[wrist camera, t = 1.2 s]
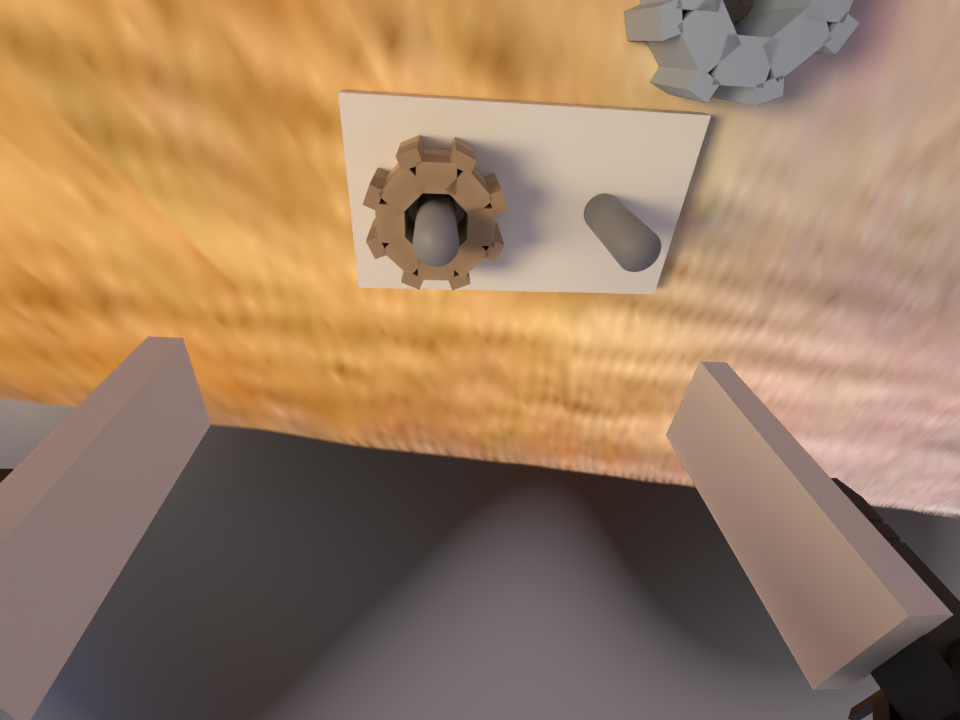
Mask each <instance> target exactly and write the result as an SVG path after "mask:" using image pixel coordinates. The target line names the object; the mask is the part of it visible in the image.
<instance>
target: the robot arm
mask: <svg viewBox="0 0 960 720" xmlns="http://www.w3.org/2000/svg"><path fill="white" fill-rule="evenodd" d="M210 424H211V423H210V420H209V417H208V413H207V410H206V407H205V404H204V401H203V398H202V395H201V392H200V389H199V386H198V383H197V380H196V377H195V373H194V370H193V367H192V364H191V361H190V358H189V355H188V352H187V349H186V346H185V343H184V340H183V338H170V337H147V338H146V339H145V340H144V341H143V342H142V343H141V344H140V345H139V346H138V347H137V348H136V349H135V350H134V351H133V352H132V353H131V354H130V355H129V356H128V357H127V358H126V359H125V360H124V361H123V362H122V363H121V364H120V365H119V366H118V367H117V368H116V369H115V370H114V371H113V372H112V373H111V374H110V375H109V376H108V377H107V378H106V379H105V380H104V381H103V382H102V383H101V384H100V385H99V386H98V387H97V388H96V389H95V390H94V391H93V392H92V393H91V394H90V395H89V396H88V397H87V398H86V399H85V400H84V401H83V402H82V403H81V404H80V405H79V406H78V407H77V408H76V409H75V410H74V411H73V412H72V413H71V414H70V415H69V416H68V417H66V418H65V419H64V420H63V421H62V423H60V425H58V426H57V428H55V429H54V430H53V431H52V433H50V434H49V435H48V436H47V437H46V438H45V439H44V440H43V441H42V442H41V443H40V444H39V445H38V446H37V448H35V449H34V450H33V451H32V452H31V453H30V454H29V455H28V456H27V457H26V458H25V459H24V460H23V461H22V462H21V463H20V464H19V465H18V466H17V467H16V468H15V469H0V720H30V719H31V718H32V716H33V714H34V713H35V711H36V709H37V708H38V706H39V705H40V703H41V701H42V700H43V698H44V696H45V695H46V693H47V691H48V690H49V688H50V687H51V685H52V683H53V682H54V680H55V678H56V677H57V675H58V673H59V672H60V670H61V668H62V667H63V665H64V664H65V662H66V660H67V659H68V657H69V655H70V654H71V652H72V650H73V649H74V647H75V645H76V644H77V642H78V641H79V639H80V637H81V636H82V634H83V632H84V631H85V629H86V627H87V626H88V624H89V623H90V621H91V619H92V618H93V616H94V614H95V613H96V611H97V610H98V608H99V606H100V605H101V603H102V601H103V600H104V598H105V596H106V595H107V593H108V591H109V590H110V588H111V587H112V585H113V583H114V582H115V580H116V578H117V577H118V575H119V573H120V572H121V570H122V568H123V567H124V565H125V564H126V562H127V560H128V559H129V557H130V555H131V554H132V552H133V551H134V549H135V547H136V545H137V544H138V542H139V541H140V539H141V537H142V536H143V534H144V532H145V531H146V529H147V528H148V526H149V524H150V523H151V520H152V519H153V518H154V516H155V514H156V513H157V511H158V509H159V508H160V506H161V504H162V503H163V501H164V500H165V498H166V496H167V495H168V493H169V491H170V490H171V488H172V487H173V485H174V483H175V482H176V480H177V478H178V477H179V475H180V473H181V472H182V470H183V469H184V467H185V465H186V463H187V462H188V460H189V459H190V457H191V455H192V454H193V452H194V451H195V449H196V447H197V446H198V444H199V442H200V441H201V439H202V437H203V436H204V434H205V432H206V431H207V429H208V428H209V426H210ZM666 436H667V438H668V439H669V441H670V443H671V445H672V446H673V448H674V450H675V451H676V453H677V455H678V457H679V458H680V460H681V462H682V464H683V465H684V467H685V469H686V471H687V472H688V474H689V476H690V477H691V479H692V481H693V483H694V484H695V486H696V488H697V490H698V491H699V493H700V495H701V496H702V498H703V500H704V502H705V503H706V505H707V507H708V508H709V510H710V512H711V513H712V515H713V517H714V519H715V521H716V522H717V524H718V526H719V527H720V529H721V531H722V532H723V534H724V536H725V538H726V540H727V541H728V543H729V545H730V546H731V548H732V550H733V552H734V553H735V555H736V557H737V559H738V560H739V562H740V564H741V566H742V567H743V569H744V571H745V573H746V574H747V576H748V578H749V579H750V581H751V583H752V585H753V586H754V588H755V590H756V592H757V593H758V595H759V597H760V598H761V600H762V602H763V603H764V605H765V607H766V609H767V610H768V612H769V614H770V616H771V617H772V619H773V621H774V623H775V625H776V626H777V628H778V630H779V631H780V633H781V635H782V636H783V638H784V640H785V642H786V643H787V645H788V647H789V649H790V650H791V652H792V654H793V655H794V657H795V659H796V661H797V663H798V664H799V666H800V668H801V669H802V671H803V673H804V675H805V676H806V678H807V680H808V682H809V683H810V685H811V687H812V689H813V690H814V689H834V688H835V689H836V688H851V687H852V686H853V685H855V684H856V683H858V682H859V681H860V680H862V679H863V678H865V677H866V676H868V675H869V674H870V673H871V675H872V676H873V678H874V679H875V681H876V682H877V684H878V685H879V686H880V688H881V689H880V690H879V691H877V692H876V693H874V694H873V695H871V696H870V697H868V698H867V699H865V700H863V701H862V702H861V703H859V704H858V705H856V706H854V707H853V708H851V711H850V714H849V718H848V719H850V720H861V719H862V718H864V717H866V716H867V715H869V714H871V713H872V712H873V720H960V601H959V600H958V599H957V598H956V597H955V596H954V595H953V594H952V593H951V592H950V591H949V590H948V588H947V587H946V586H945V585H944V584H943V583H942V582H941V581H940V580H939V579H938V578H937V577H936V576H935V575H934V573H933V572H932V571H931V570H930V569H929V568H928V567H927V566H926V565H925V564H924V563H923V562H922V561H921V560H920V559H919V557H918V556H917V555H916V554H915V553H914V552H913V551H912V550H911V549H910V548H909V547H908V546H907V545H906V543H902V542H901V541H900V537H899V536H898V535H897V534H896V533H895V532H894V531H893V530H892V529H891V527H890V526H889V525H887V524H884V523H883V519H882V518H881V517H880V516H879V515H878V513H877V512H876V511H875V510H874V509H873V508H872V507H871V506H870V505H869V504H868V503H867V502H866V501H865V500H864V498H863V497H861V496H860V495H859V494H857V493H856V492H855V491H853V490H852V489H850V488H849V487H848V486H846V485H845V484H844V483H842V482H841V481H840V480H838V479H837V478H830V477H829V476H828V475H827V474H826V473H825V472H824V471H823V469H822V468H821V467H820V466H819V465H818V464H817V463H816V462H815V461H814V459H813V458H812V457H811V456H810V455H809V454H808V453H807V452H806V451H805V449H804V448H803V447H802V446H801V445H800V444H799V443H798V442H797V441H796V439H795V438H794V437H793V436H792V435H791V434H790V433H789V432H788V431H787V429H786V428H785V427H784V426H783V425H782V424H781V423H780V422H779V421H778V419H777V418H776V417H775V416H774V415H773V414H772V413H771V412H770V411H769V409H768V408H767V407H766V406H765V405H764V404H763V403H762V402H761V401H760V399H759V398H758V397H757V396H756V395H755V394H754V393H753V392H752V391H751V389H750V388H749V387H748V386H747V385H746V384H745V383H744V382H743V381H742V379H741V378H740V377H739V376H738V375H737V374H736V373H735V372H734V371H733V369H732V368H731V367H730V366H729V365H728V364H727V363H723V362H701V361H700V363H699V365H698V367H697V369H696V371H695V374H694V376H693V378H692V380H691V382H690V384H689V386H688V389H687V391H686V393H685V395H684V397H683V399H682V401H681V404H680V406H679V408H678V410H677V412H676V414H675V416H674V419H673V421H672V423H671V425H670V427H669V429H668V432H667V434H666Z"/></svg>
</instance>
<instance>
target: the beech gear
mask: <svg viewBox="0 0 960 720" xmlns="http://www.w3.org/2000/svg"><path fill="white" fill-rule="evenodd" d="M395 157H396V159H397V161H398V164H397V165H396V166H395V167H394V168H393V169H392V170H391V171H390V172H387V171H384V170H382V169H380V168H377V170H376V172H375V174H374V176H373V178H372V180H371V182H370V184H369V187H368V190H367V193H366V196H365V199H364V202H363V205H364V206H366V207H369V208H371V209H373V210H375V216H376V218H375V219H374V220H373V223H372V225H371V228H370V231H369V234H368V236H367V239H366V243H367V245H368V246H369V248H370V250H371V252H372V254H373V256H374V258H375V259H378V258H380V257H383V256H388V257H389V258H390V259H391V260H392V261H393V262H394V263H395V264H396V265H397V266H399V267H400V268H401V269H402V270H403V274H402V280H401V283H404V284H406V285H409V286H411V287H414V288H417V289H420V287H421V285H422V283H423V280H446V281H449V283H450V286H451V288H452V290H455V289H458V288H461V287H463V286H466V285H469V284H470V277H469V272H470V271H471V270H472V269H473V268H474V267H475V266H476V265H478V264H479V263H480V262H481V261H482V260H483V259H485V258H486V259H488V260H490V261H493V262H495V263H496V261H497V259H498V257H499V255H500V253H501V251H502V250H503V248H504V246H505V245H504V242H503V239H502V236H501V233H500V229H499V226H498V223H496V215H497V214H500V213H503V212H505V211H508V209H507V206H506V202H505V199H504V196H503V193H502V190H501V187H500V185H499V182H498V180H497V178H496V175H495V173H493V174H490V175H488V176H485V177H483V176H482V174H481V173H480V172H479V171H478V170H477V168H476V167H475V164H476V162H477V159H476V156H475V153H474V149H473V146H471V145H469V144H467V143H465V142H463V141H461V140H459V139H458V138H456V137H454V139H453V141H452V144H451V146H450V149H445V148H426V147H424V145H423V143H422V140H421V138H420V135H418V136H416V137H413V138H411V139H408V140H406V141H403V142H401V143H400V146H399V149H398V151H397V154H396V156H395ZM422 193H432V194H450V195H451V196H452V197H453V198H454V199H455V200H456V201H457V203H458V204H459V205H460V206H461V207H462V208H463V209H464V218H463V219H462V220H461V221H460V222H459V223H458V224H457V228H458V239H459V250H458V253H457V255H456V257H455V258H454V259H453V260H452V261H451V262H450V263H449V264H447V265H444V266H440V267H432V266H429V265H426V264H424V263H423V262H421V261H420V260H419V259H418V258H417V256H416V255H415V253H414V250H413V236H414V229H415V221H414V220H413V219H412V218H411V217H410V216H409V206H410V205H411V204H412V203H413V202H414V201H415V200H416V199H417V198H418V197H419V196H420V195H421V194H422Z"/></svg>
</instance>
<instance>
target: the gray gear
mask: <svg viewBox="0 0 960 720" xmlns="http://www.w3.org/2000/svg"><path fill="white" fill-rule="evenodd" d="M852 2H853V0H754V1H753V5H752V8H751V11H750V13H749V14H747V15H746V16H745V17H744V18H743V19H742V20H741V21H739V22H738V23H737V24H736V25H735V26H733V24H732V21H731V19H730V16H729V14H728V12H727V9H726V7H725V4H724V2H723V0H641V2H640V5H639V6H637V7H634V8H632V9H630V10H627V11H625V12H624V15H625V24H626V32H627V41H646V42H647V44H648V46H649V48H650V49H651V51H652V53H653V55H654V57H655V59H656V61H657V63H658V65H659V68H658V70H657V71H656V73H655V75H654V77H653V78H652V80H651V83H652V84H654V85H655V86H657V87H658V88H660V89H661V90H663V91H664V92H666V93H667V94H671V95H675V96H680V97H684V98H688V99H693V100H697V101H701V102H706V103H708V101H709V100H710V98H711V97H714V98H719V99H724V100H729V101H734V102H739V103H744V104H748V105H753V106H757V105H760V104H763V103H765V102H768V101H771V100H774V99H776V98H779V97H782V96H783V91H784V77H785V76H786V75H788V74H789V73H790V72H791V71H793V70H794V69H795V68H796V67H798V66H799V65H800V64H801V63H802V62H804V61H805V60H806V59H807V58H809V57H810V56H811V55H812V54H836V53H837V52H838V51H839V50H840V48H841V47H842V46H843V44H844V43H845V42H846V40H847V39H848V38H849V36H850V35H851V34H852V32H853V31H854V30H855V29H856V27H857V26H858V25H859V22H858V21H856V20H855V19H854V18H853V17H852V16H851V15H849V14H848V12H849V10H850V7H851V5H852Z"/></svg>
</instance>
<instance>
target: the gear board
mask: <svg viewBox="0 0 960 720" xmlns="http://www.w3.org/2000/svg"><path fill="white" fill-rule="evenodd" d="M338 95H339V104H340V114H341V124H342V133H343V143H344V152H345V162H346V171H347V181H348V190H349V200H350V209H351V219H352V228H353V238H354V247H355V257H356V266H357V276H358V285H359V288H403V289H417V288H414V287H411V286H409V285H406V284H404V283H401V280H402V274H403V270H402V269H401V268H400V267H399V266H397V265H396V264H395V263H394V262H393V261H392V260H391V259H390V258H389V257H388V256H383V257H380V258H378V259H375V258H374V256H373V254H372V252H371V250H370V248H369V246H368V245H367V243H366V239H367V236H368V234H369V231H370V228H371V225H372V223H373V220H374V219H375V218H376V216H375V210H373V209H371V208H369V207H366V206H364V205H363V202H364V199H365V196H366V193H367V190H368V187H369V184H370V182H371V180H372V178H373V176H374V174H375V172H376V170H377V168H380V169H382V170H384V171H387V172H390V171H391V170H392V169H393V168H394V167H395V166H396V165H397V164H398V161H397V159H396V157H395V156H396V154H397V151H398V149H399V146H400V143H401V142H403V141H406V140H408V139H411V138H413V137H416V136H418V135H420V138H421V140H422V143H423V145H424V147H426V148H445V149H450V146H451V144H452V141H453V139H454V137H456V138H458V139H459V140H461V141H463V142H465V143H467V144H469V145H471V146H473V149H474V153H475V156H476V159H477V162H476V164H475V167H476V168H477V170H478V171H479V172H480V173H481V174H482V176H483V177H485V176H488V175H490V174H493V173H495V175H496V178H497V180H498V182H499V185H500V187H501V190H502V193H503V196H504V199H505V202H506V206H507V209H508V211H505V212H503V213H500V214H497V215H496V223H498V226H499V229H500V233H501V236H502V239H503V242H504V245H505V246H504V248H503V250H502V251H501V253H500V255H499V257H498V259H497V261H496V263H495V262H493V261H490V260H488V259H486V258H485V259H483V260H482V261H481V262H480V263H479V264H478V265H476V266H475V267H474V268H473V269H472V270H471V271H470V272H469V277H470V284H469V285H466V286H463V287H461V288H458V289H455V290H494V291H539V292H585V293H630V294H655V291H656V287H657V284H658V281H659V278H660V275H661V272H662V269H663V265H664V262H665V259H666V256H667V253H668V250H669V246H670V243H671V240H672V237H673V234H674V231H675V228H676V224H677V221H678V218H679V215H680V212H681V209H682V205H683V202H684V199H685V196H686V193H687V190H688V187H689V183H690V180H691V177H692V174H693V171H694V168H695V165H696V161H697V158H698V155H699V152H700V149H701V146H702V142H703V139H704V136H705V133H706V130H707V127H708V124H709V120H710V117H711V115H707V114H704V113H700V112H686V111H670V110H654V109H639V108H623V107H607V106H591V105H575V104H559V103H543V102H527V101H512V100H496V99H480V98H464V97H448V96H432V95H416V94H401V93H385V92H369V91H353V90H342V91H340V92H338ZM409 216H410V217H411V218H412V219H413V220H414V221H415V229H414V236H413V250H414V253H415V255H416V256H417V258H418V259H419V260H420V261H421V262H423V263H424V264H426V265H429V266H432V267H440V266H444V265H447V264H449V263H450V262H451V261H452V260H453V259H454V258H455V257H456V255H457V253H458V250H459V239H458V228H457V224H458V223H459V222H460V221H461V220H462V219H463V218H464V209H463V208H462V207H461V206H460V205H459V204H458V203H457V201H456V200H455V199H454V198H453V197H452V196H451V195H450V194H432V193H422V194H421V195H420V196H419V197H418V198H417V199H416V200H415V201H414V202H413V203H412V204H411V205H410V206H409ZM420 289H448V290H452V288H451V286H450V283H449V281H446V280H423V283H422V285H421V287H420Z"/></svg>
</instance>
